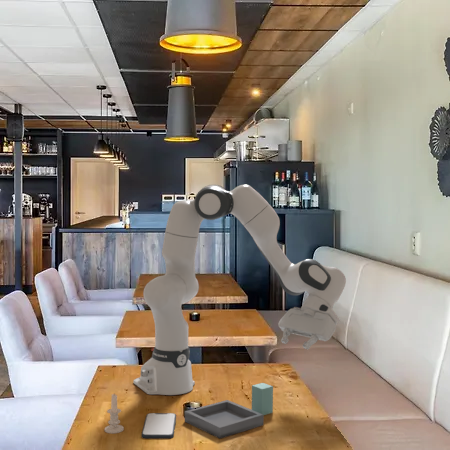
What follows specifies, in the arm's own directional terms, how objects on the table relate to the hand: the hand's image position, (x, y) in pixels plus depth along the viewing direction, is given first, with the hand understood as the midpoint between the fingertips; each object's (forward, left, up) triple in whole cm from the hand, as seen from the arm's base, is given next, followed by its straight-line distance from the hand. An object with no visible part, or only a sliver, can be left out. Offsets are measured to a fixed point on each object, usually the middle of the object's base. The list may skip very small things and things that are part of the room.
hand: (294, 345), depth 189 cm
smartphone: (-9, -44, -19) cm, 49 cm away
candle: (-15, -55, -19) cm, 60 cm away
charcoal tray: (0, -28, -18) cm, 34 cm away
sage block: (0, -13, -18) cm, 23 cm away
